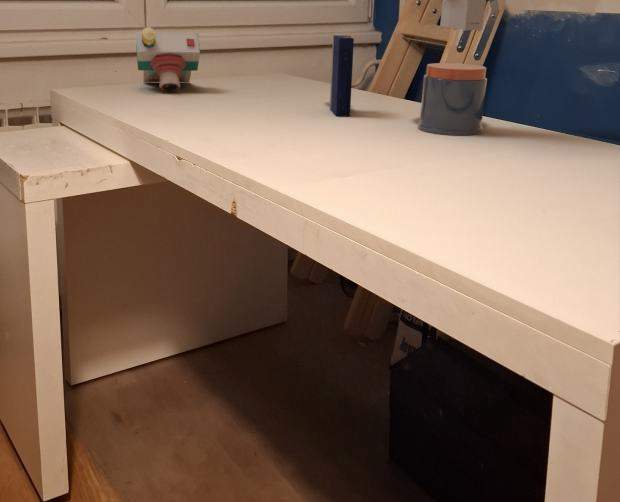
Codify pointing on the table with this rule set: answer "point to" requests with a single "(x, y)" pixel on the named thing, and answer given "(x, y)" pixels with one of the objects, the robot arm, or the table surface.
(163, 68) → the toy camera
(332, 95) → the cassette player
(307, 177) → the table surface
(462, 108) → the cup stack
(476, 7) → the padlock
